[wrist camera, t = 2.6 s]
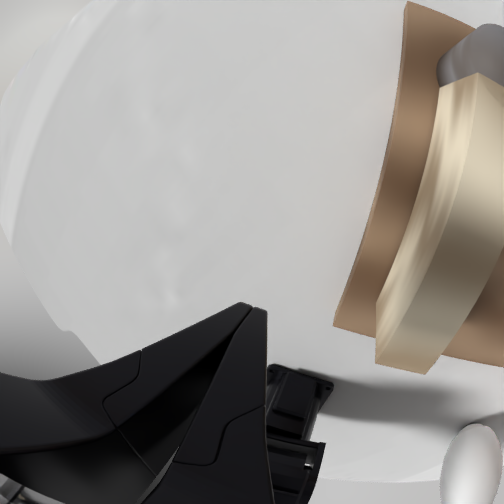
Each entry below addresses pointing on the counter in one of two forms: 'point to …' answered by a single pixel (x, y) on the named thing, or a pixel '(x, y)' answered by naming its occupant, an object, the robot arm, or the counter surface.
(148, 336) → the counter surface
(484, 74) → the hinged leg
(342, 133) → the counter surface
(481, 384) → the counter surface
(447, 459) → the white smooth oval part
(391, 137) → the wooden board
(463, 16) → the counter surface
